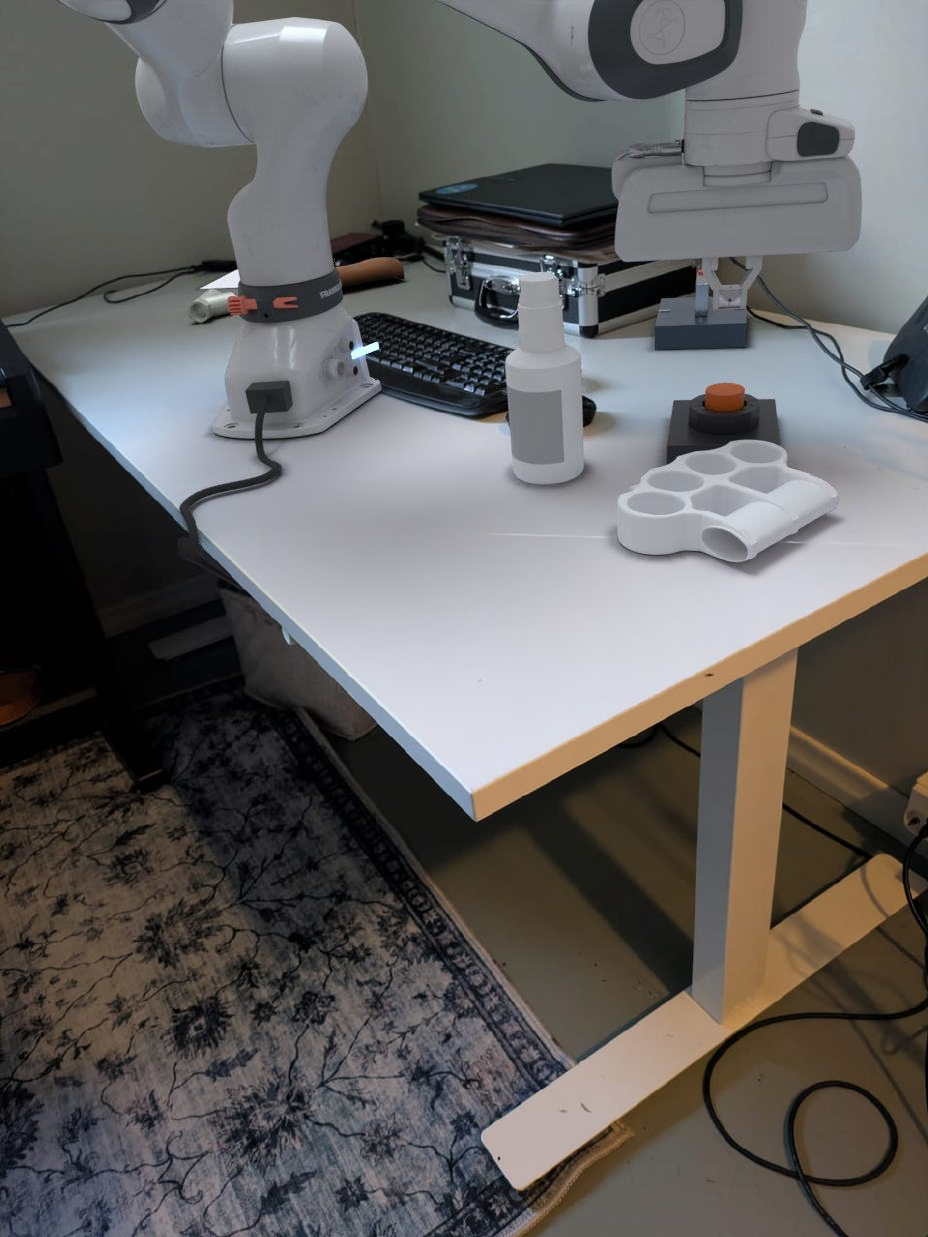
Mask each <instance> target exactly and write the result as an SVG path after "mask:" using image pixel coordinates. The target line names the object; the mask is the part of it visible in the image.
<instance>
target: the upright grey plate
mask: <svg viewBox="0 0 928 1237" xmlns="http://www.w3.org/2000/svg"><path fill="white" fill-rule="evenodd" d="M694 292H695V293H694V294H695V296H694V297H695V317H703V316H708V304H709V297H710V286H709V284H708V282H707V280H706V278H705V277H704V275H703V273H702V269H698V271H697V273H696V280H695V290H694Z"/></svg>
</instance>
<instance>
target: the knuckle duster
mask: <svg viewBox="0 0 928 1237" xmlns="http://www.w3.org/2000/svg"><path fill="white" fill-rule="evenodd" d="M788 458H789V455H788V452H787V451H786V449H785V448H783V447H782V446H781V445H780V446H779V445H776V444H774V443H770V442H766V441H760V440H737V441H731V442H729V443H728V444H727V445H725V446H723V447H720V448H717V449H713V450H707V451H695V452H692V453H688V454H684V455H681V456H678V457H677V458H676V459H675V460H674V461H673V462H672V463H670V464H668V465H666V464H665V465H663V466H658V467H653V468H650V470H648V471H647V472H646V473H644V474H643V475H642V476H641V477H640V480H639V483H637V484H634V485H631V486H628V489H630V491H628V492H624V493H621V494H620V495H619V496H618V498H617V500H616V501H617V502H616V516H617V517H616V523H617V524H616V525H617V527H616V528H617V529H616V531H617V533H616V535H617V539H618V542H619V543H620V544H621V545H622V546H623V547H625V548H626V549H628V550H630V551H632V552H635V553H638V554H643V555H652V556H661V555H671V554H675V553H679V552H684V551H686V552H687V551H688V552H702V553H704V554H705V555H708V556H711V557H714V558H717V559H719V560H723V561H727V562H731V563H740V562H741V563H742V562H745V561H748V560H753V559H754V558H755V557H757V555H758V554H759V553H760V552H762V551H764V550H766V549H767V548H769V547H771V546H772V545H775V544H776V543H778V542H780V541H782V540H783V539H785V538H787V537H788V536H792V535H794V534H796V533H798V531H799V530H800V529H802V528H803V527H805V526H807V525H809V524H810V523H812V522H814V521H815V520H817V519H819V518H820V517H822V516H824V515H826V514H827V513H831V512H833V511H835V510H836V509H837V507H838V506H839V504H840V502H841V501H840V500H841V499H840V494H839V492H838V491H837V489H836V488H835V487H833V485H831V484H830V483H829V482H827V481H825V480H824V479H822V478H820V477H817V476H815V475H813V474H811V473H809V472H805V471H803V470H799V469H796V468H792V467H789V466H788V460H789V459H788Z"/></svg>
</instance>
